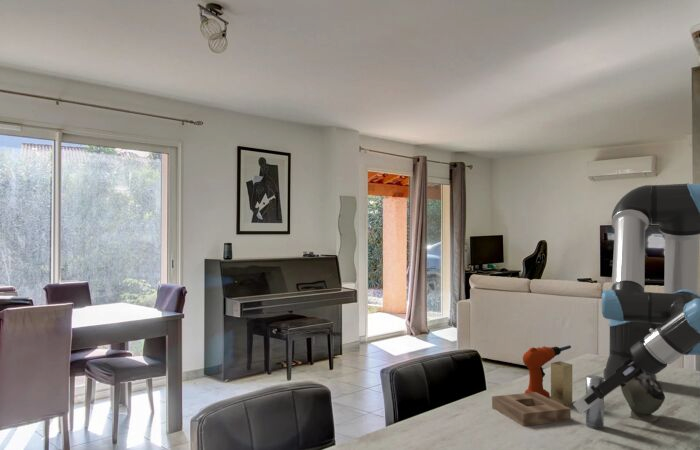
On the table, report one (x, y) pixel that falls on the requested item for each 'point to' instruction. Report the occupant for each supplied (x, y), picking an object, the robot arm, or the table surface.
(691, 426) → the table surface
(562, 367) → the light brown rectangular block
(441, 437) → the table surface
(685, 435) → the table surface
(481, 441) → the table surface
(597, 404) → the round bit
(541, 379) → the toy drill
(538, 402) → the socket block
